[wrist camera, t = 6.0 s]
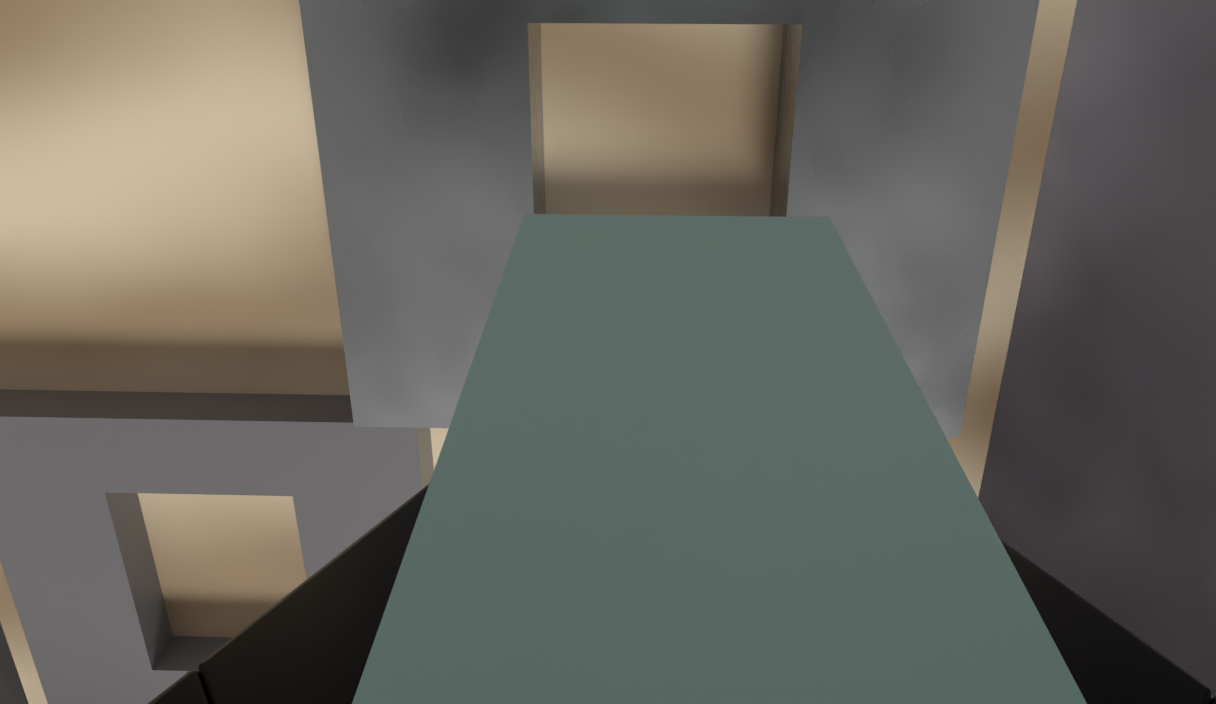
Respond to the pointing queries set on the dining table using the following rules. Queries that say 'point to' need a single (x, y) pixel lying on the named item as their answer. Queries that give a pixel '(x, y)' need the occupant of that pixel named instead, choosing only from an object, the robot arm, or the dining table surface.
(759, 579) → the plug
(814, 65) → the port block
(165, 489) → the gray square frame
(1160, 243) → the dining table surface
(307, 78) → the patch board
